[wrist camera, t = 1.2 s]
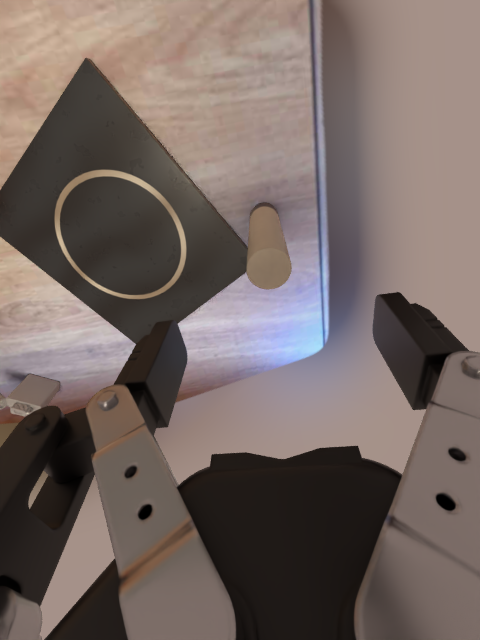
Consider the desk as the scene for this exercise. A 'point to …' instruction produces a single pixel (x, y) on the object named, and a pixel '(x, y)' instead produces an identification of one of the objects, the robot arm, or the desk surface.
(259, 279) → the cylinder
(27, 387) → the lighter
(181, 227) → the black flat square pad
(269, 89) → the desk surface
